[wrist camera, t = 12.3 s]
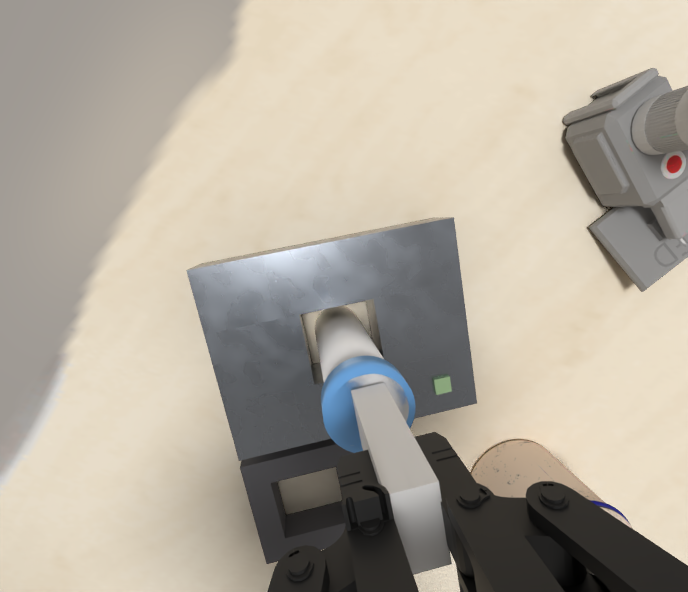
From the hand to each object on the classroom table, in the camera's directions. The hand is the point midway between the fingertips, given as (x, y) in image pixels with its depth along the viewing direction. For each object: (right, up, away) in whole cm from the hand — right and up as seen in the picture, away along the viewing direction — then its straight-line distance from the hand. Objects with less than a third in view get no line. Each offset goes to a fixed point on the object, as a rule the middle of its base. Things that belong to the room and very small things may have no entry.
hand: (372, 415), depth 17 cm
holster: (-4, -11, +16) cm, 20 cm away
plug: (-2, +3, +14) cm, 14 cm away
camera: (+21, +14, +15) cm, 30 cm away
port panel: (-2, +3, +14) cm, 14 cm away
